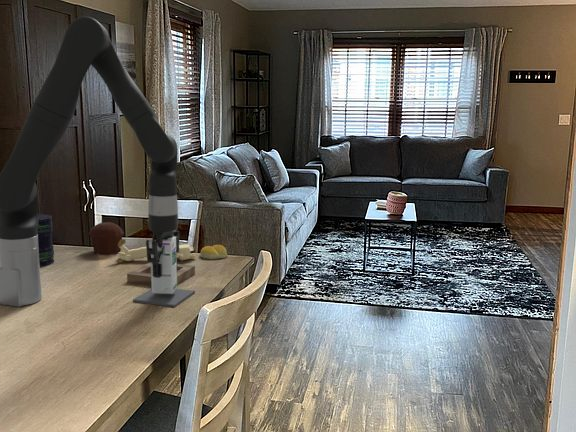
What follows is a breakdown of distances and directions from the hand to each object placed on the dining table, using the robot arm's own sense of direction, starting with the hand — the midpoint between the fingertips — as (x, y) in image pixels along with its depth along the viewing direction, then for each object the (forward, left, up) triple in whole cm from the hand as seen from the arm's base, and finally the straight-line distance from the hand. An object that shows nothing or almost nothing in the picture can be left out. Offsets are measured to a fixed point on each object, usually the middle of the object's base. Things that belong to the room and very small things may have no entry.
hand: (164, 273), depth 153 cm
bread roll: (+43, +4, -7) cm, 44 cm away
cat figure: (+32, +20, -7) cm, 38 cm away
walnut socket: (+15, +9, -7) cm, 19 cm away
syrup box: (0, 0, -5) cm, 5 cm away
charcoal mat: (0, 0, -7) cm, 7 cm away
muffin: (+35, +41, -7) cm, 54 cm away
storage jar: (+15, +53, -7) cm, 55 cm away
